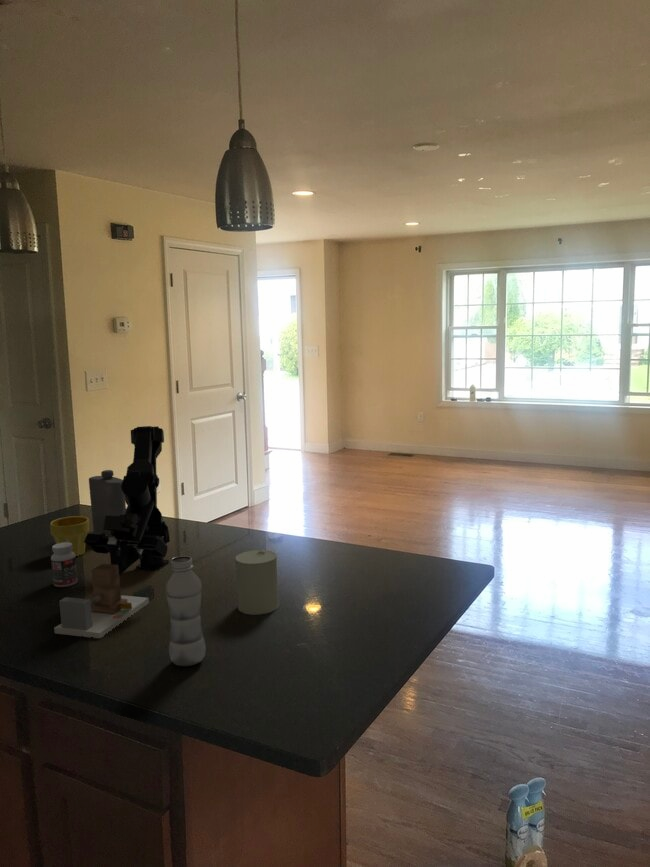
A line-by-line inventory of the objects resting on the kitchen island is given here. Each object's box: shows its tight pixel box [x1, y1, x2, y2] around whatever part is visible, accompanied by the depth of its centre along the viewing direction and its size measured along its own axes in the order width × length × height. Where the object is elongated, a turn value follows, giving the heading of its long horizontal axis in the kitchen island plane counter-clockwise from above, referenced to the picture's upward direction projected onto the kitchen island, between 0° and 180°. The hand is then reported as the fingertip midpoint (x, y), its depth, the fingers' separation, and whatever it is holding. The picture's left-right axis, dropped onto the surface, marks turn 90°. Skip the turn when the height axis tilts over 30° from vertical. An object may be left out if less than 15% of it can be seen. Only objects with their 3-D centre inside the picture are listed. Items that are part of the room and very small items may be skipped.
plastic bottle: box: [164, 555, 207, 667], centre depth 125 cm, size 6×7×20 cm
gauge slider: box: [91, 563, 132, 613], centre depth 147 cm, size 7×9×9 cm
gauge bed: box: [53, 594, 150, 639], centre depth 147 cm, size 18×11×7 cm, turn 163°
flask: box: [88, 469, 127, 538], centre depth 208 cm, size 15×6×20 cm, turn 49°
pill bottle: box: [50, 542, 78, 588], centre depth 168 cm, size 6×6×10 cm
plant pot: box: [49, 515, 90, 558], centre depth 191 cm, size 10×10×10 cm
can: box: [234, 549, 280, 616], centre depth 150 cm, size 9×9×12 cm
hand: (113, 578), depth 150 cm, fingers closed, pressing on gauge slider
